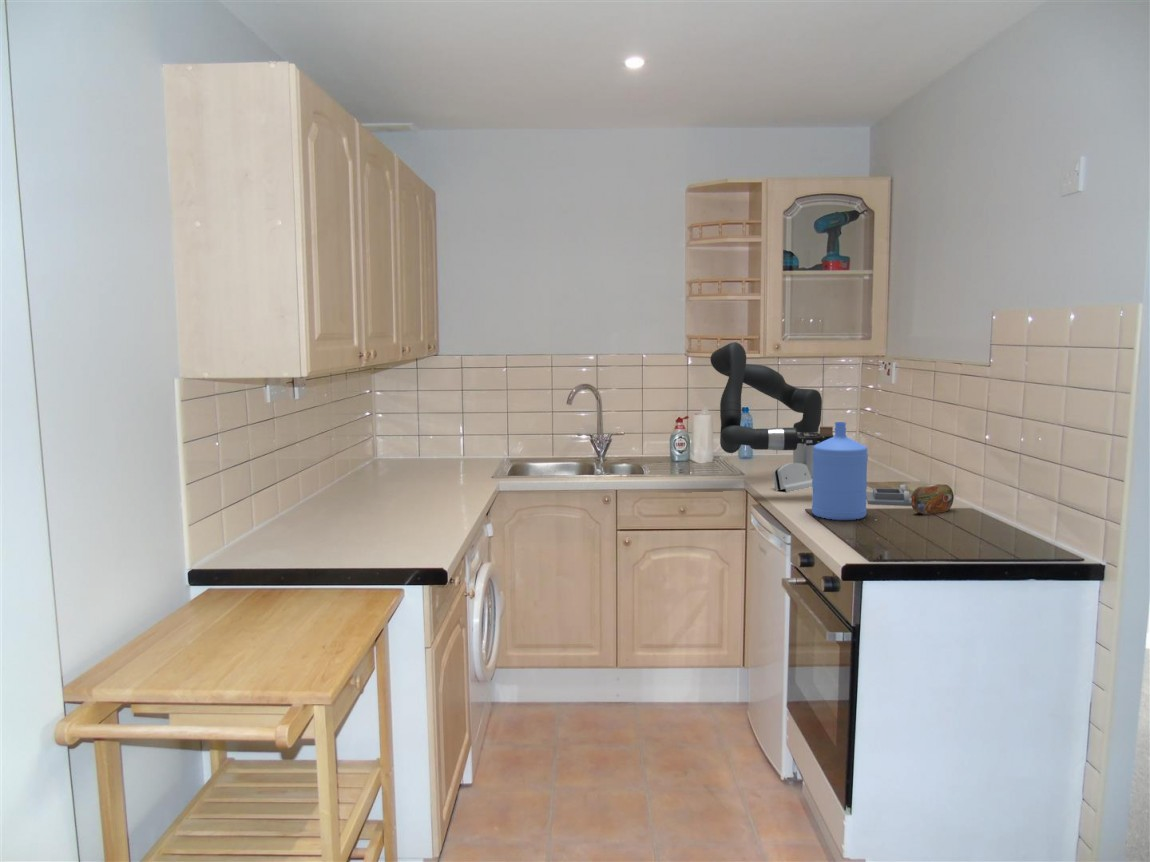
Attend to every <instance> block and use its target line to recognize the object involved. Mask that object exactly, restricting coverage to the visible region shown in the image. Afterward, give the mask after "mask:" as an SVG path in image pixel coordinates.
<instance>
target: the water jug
mask: <svg viewBox="0 0 1150 862" xmlns="http://www.w3.org/2000/svg"><path fill="white" fill-rule="evenodd" d="M834 425H835V427H834V434H833V436H834V437H832V438H830V439H827V440H825V441H823V442H821V443H819V444H816V445H815V446H814V447H813V478H812V505H811V512H812V513H811V514H813V515H814V516H815V517H817V518H820V517H821V518H820V519H824V518H826V519H825V520H830V519H832V521H855V520H856V519H857V520H861V519H863V518H865V517H866V516H867V499H866V492H867V490H868V488H867V487H868V480H867V477H868V476H867V473H868V457H869V455H868V454H869V453H868V447H867V445H864V444H862V443H860V442H859V441H856V440H854V439H852V438H850V437H848V436H847V434H846V433H847V432H846V431H847V428H846V425H847V423H846V422H843V421H836V422H834ZM857 520H856V521H857Z"/></svg>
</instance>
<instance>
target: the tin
mask: <svg viewBox="0 0 1150 862" xmlns="http://www.w3.org/2000/svg"><path fill="white" fill-rule="evenodd" d="M954 498H955V497H954V492H953V490H952V488H951V487H950V486H949V485H948V484H941V483H940V484H930V485H923V486H919V487H916V488H915V489H914V490H913V491H912V494H911V498H910V499H911V503H912V506H911V507H912V509H913V511H914V512H916V513H917V514H920V515H925V516H926V514H928V515H932V514H933V513H934V514H939V513H940V514H941V513H945V512H947V511H949V510H950V509H951V508H952V505H953V503H954Z"/></svg>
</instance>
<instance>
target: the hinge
mask: <svg viewBox="0 0 1150 862" xmlns="http://www.w3.org/2000/svg"><path fill="white" fill-rule="evenodd" d="M772 477H773V484H774V488H775V491H776V490H777V491H776V492H778V490H779V491H782V490H785V493H786V492H788V493H791V492H790V491H793V492H795V491H794V490H798V491H800V490H799V489H803V490H805V489H804V488H807V489H810V488H809V487H812V479H813V478H811V476H810V473H809V470H808V468H807V466H806V465H805V464H801V463H793V462H789V463H786V464H783V465H780V466H779V467H778V468H775V470H773V471H772ZM812 488H813V487H812Z"/></svg>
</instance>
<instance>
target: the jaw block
mask: <svg viewBox="0 0 1150 862" xmlns="http://www.w3.org/2000/svg"><path fill="white" fill-rule="evenodd" d="M833 427H834V426H833V425H819V433H820V436H834V433H833V432H834V431H833V429H834V428H833Z"/></svg>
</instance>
